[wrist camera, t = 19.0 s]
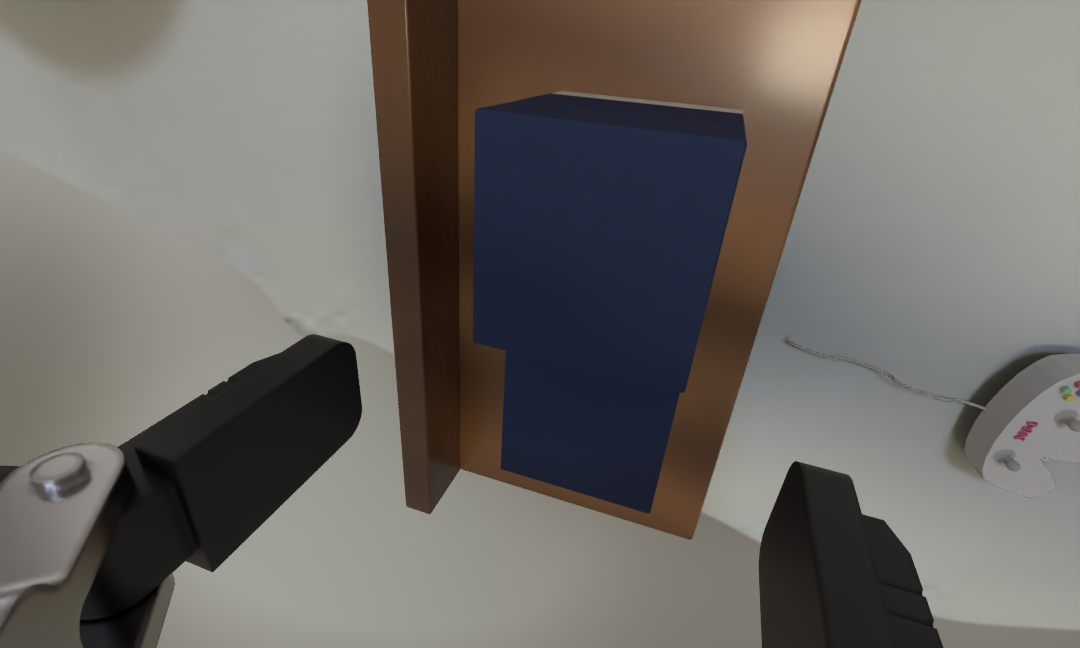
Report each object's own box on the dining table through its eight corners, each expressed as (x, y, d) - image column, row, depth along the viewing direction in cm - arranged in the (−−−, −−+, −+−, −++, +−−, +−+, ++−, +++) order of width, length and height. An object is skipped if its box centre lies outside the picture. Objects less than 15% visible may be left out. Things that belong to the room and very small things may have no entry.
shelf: (702, 420, 24) (686, 602, 16) (505, 370, 27) (405, 506, 19) (834, -47, 16) (940, -155, 8) (524, -57, 18) (354, -146, 10)
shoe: (561, 90, 13) (473, 108, 9) (743, 109, 12) (748, 140, 8) (535, 406, 18) (470, 521, 13) (663, 441, 17) (638, 577, 12)
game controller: (1104, 479, 20) (1149, 532, 18) (775, 443, 24) (778, 483, 22) (1163, 349, 17) (1224, 392, 15) (785, 333, 21) (790, 366, 19)
